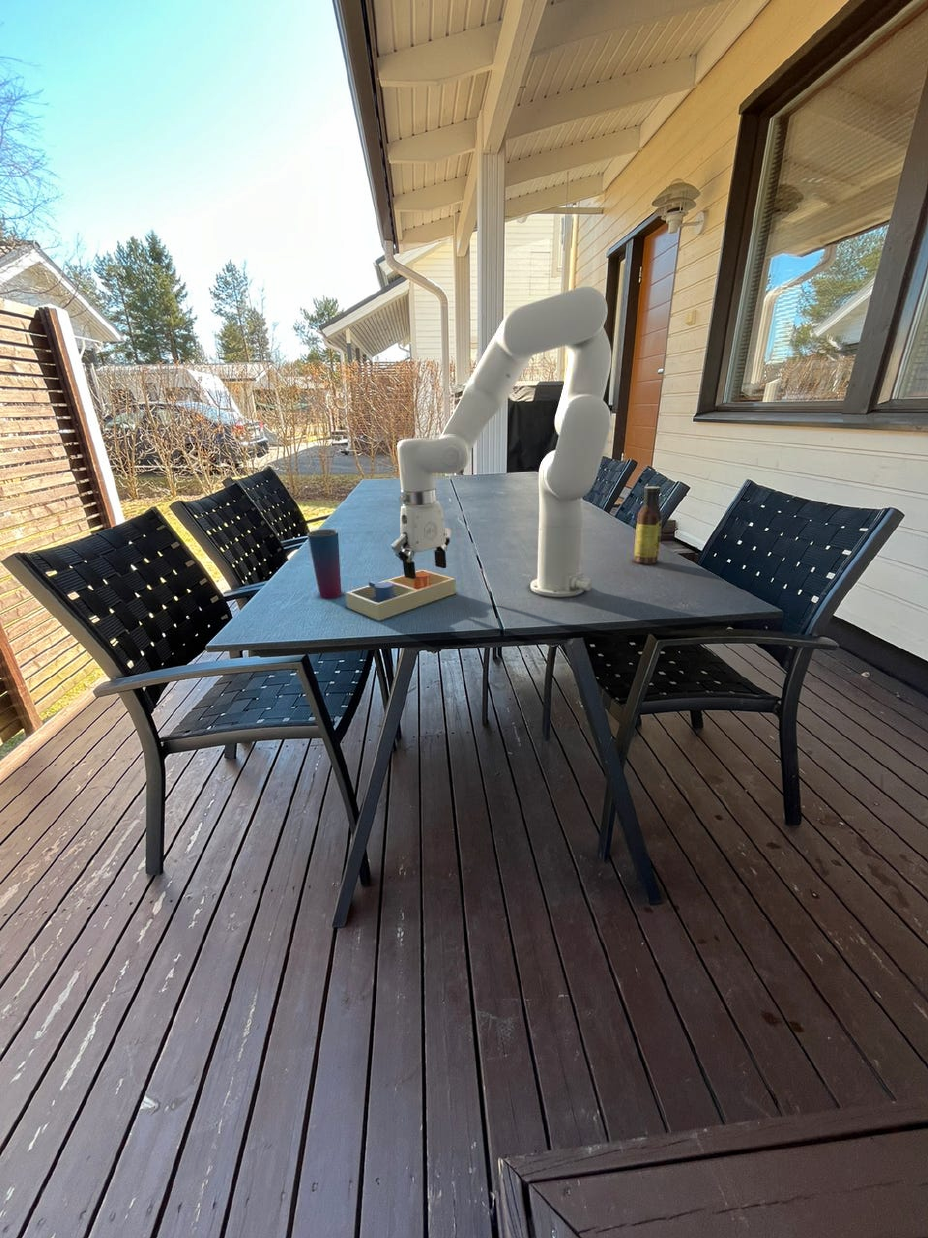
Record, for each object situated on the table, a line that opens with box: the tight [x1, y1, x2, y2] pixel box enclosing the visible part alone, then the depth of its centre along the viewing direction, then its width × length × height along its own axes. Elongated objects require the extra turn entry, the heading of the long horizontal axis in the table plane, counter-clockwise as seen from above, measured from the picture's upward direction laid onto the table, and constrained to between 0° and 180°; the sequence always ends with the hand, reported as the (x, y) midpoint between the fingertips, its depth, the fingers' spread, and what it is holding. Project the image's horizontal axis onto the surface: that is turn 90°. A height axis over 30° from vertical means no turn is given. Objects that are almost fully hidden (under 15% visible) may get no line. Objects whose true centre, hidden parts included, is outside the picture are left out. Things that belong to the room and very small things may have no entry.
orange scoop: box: [413, 572, 431, 590], centre depth 122 cm, size 7×4×4 cm, turn 45°
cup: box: [306, 528, 342, 599], centre depth 121 cm, size 7×7×15 cm
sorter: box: [345, 568, 457, 622], centre depth 119 cm, size 12×22×4 cm, turn 135°
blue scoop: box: [368, 580, 394, 603], centre depth 115 cm, size 7×4×4 cm, turn 45°
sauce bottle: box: [633, 485, 663, 565], centre depth 139 cm, size 7×6×20 cm
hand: (426, 572), depth 122 cm, fingers open, 9 cm apart
